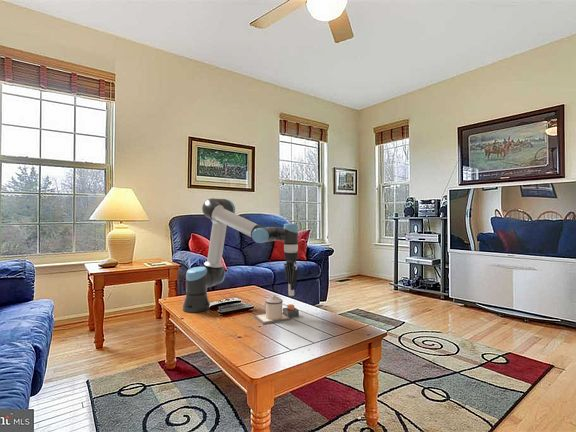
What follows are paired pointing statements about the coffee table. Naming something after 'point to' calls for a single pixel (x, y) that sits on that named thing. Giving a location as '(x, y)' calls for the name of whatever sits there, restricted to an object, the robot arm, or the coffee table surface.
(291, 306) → the button
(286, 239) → the robot arm
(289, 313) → the button housing
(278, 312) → the teacup with lid
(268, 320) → the board
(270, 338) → the coffee table surface
